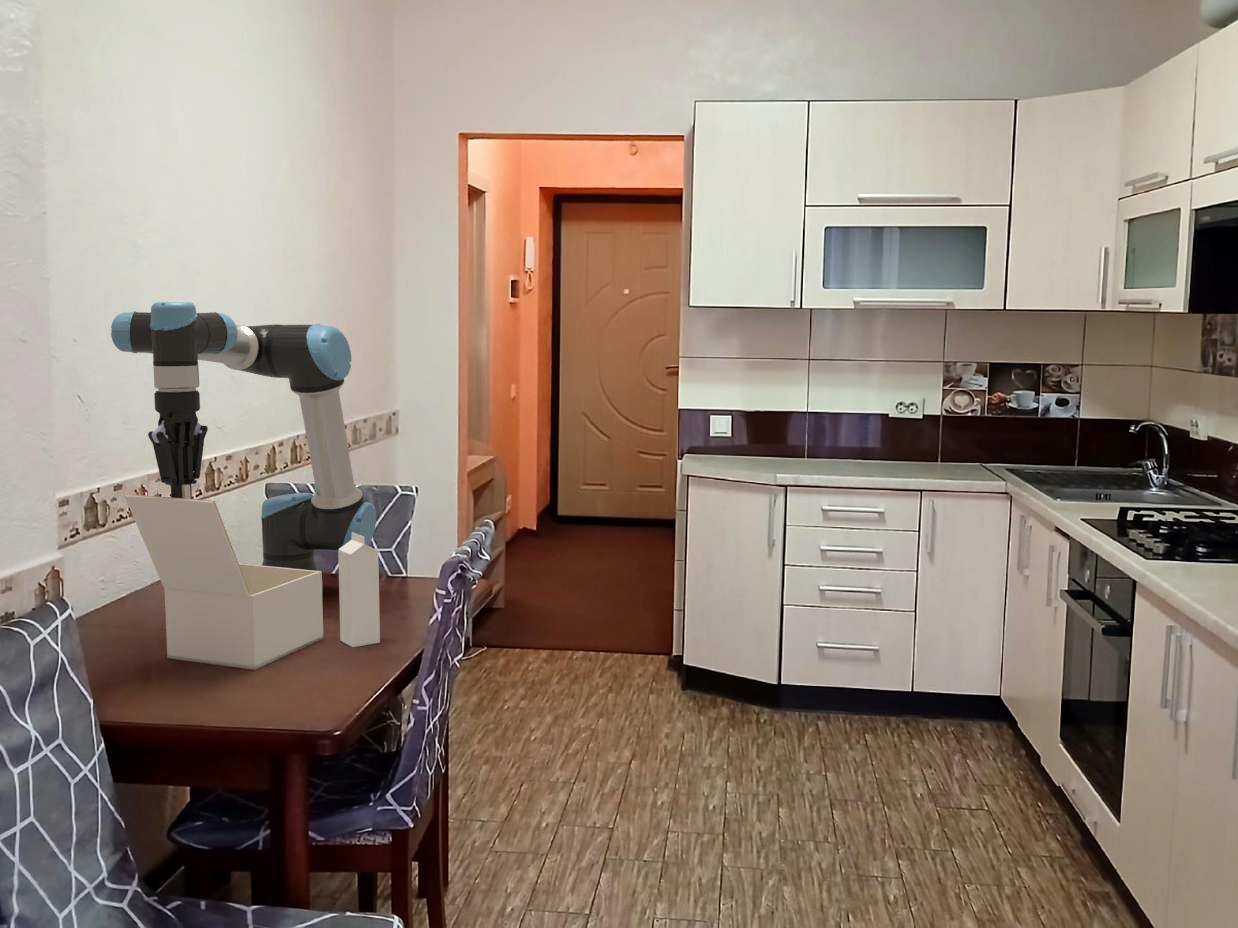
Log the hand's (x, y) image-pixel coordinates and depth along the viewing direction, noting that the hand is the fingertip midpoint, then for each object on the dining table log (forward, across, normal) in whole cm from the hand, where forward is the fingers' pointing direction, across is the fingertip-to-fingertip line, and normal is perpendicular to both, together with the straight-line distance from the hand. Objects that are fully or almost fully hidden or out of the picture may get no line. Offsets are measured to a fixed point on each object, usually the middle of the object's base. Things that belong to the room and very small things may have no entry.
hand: (182, 520), depth 210 cm
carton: (+29, -17, 0) cm, 33 cm away
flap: (+5, -1, 0) cm, 5 cm away
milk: (+29, -29, +18) cm, 45 cm away
